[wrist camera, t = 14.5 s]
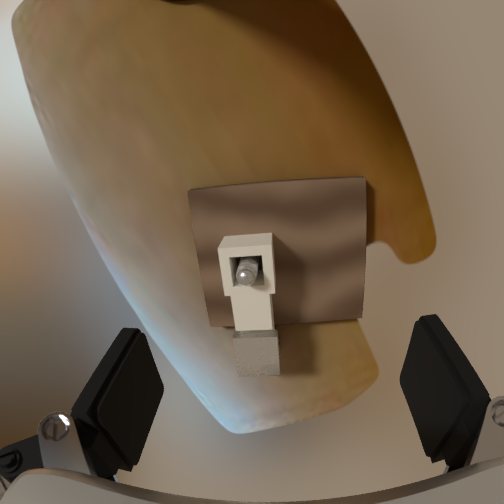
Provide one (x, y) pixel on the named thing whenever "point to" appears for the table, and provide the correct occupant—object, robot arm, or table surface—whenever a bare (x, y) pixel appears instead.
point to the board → (289, 244)
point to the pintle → (247, 270)
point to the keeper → (257, 352)
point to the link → (253, 296)
